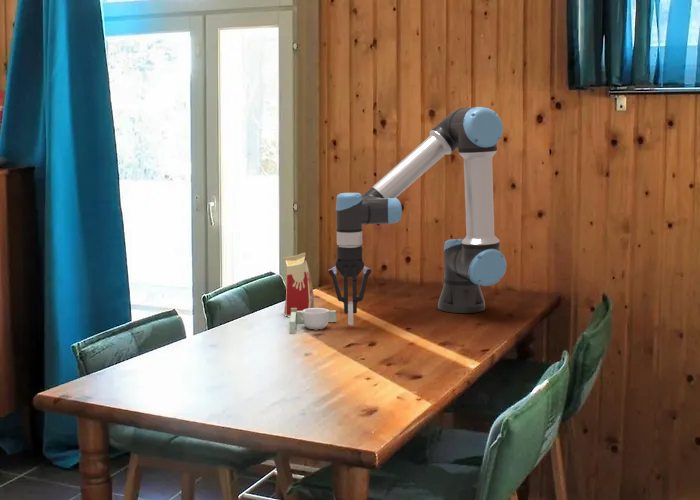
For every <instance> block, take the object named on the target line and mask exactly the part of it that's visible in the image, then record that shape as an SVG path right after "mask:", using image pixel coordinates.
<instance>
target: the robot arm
mask: <svg viewBox="0 0 700 500" xmlns="http://www.w3.org/2000/svg"><path fill="white" fill-rule="evenodd" d="M503 133H504V125H503V121H502V119H501V117H500V116H499V114H498V113H497V112H495V111H494V110H493V109H491V108H488V107H483V106H475V107H460V108H457V109H455V110H453V111H452V112H450V113H449V114H448V115H447V116H446V117H445V118H443V119H442V120H440V122H439V123H437V124H436V125H435V126H434V127H433V128H432V129H431V130H430V131H429V136H428V137H427V138H426V139H425V140H424V141H422V142H421V143H420V144H419V145H418V146H417V147H415V148H414V149H413V150H412V151H411V152H409V154H408V155H406V157H404V158H403V159H402V160H401V161H400V162H399V163H398V164H396V165H395V166H394V167H393V168H392V169H391V170H390V171H388V172H387V173H386V174H385V175H384V176H383V177H382V178H381V179H379V181H377V182H376V183H375V184H374V185H372V187H370V188H369V189H368V190H367V191H366V192H364V193H362V194H361V193H360V192H343V193H342V192H341V193H339V194H337V196H336V201H335V214H336V218H335V219H336V244H337V246H336V262H335V266H333V267H332V268H328V274H329V275H330V277H331V278H332V282H333V287H334V290H335V294H336V298H337V300H338V302H340V303H341V302H342V303H343V312H344V314H345V315H346V314H347V325H348V326H354V314H357V313H358V302H359V303H360V302H362V301H363V300H364V296H365V291H366V288H367V283H368V279H369V277H370V275H371V273H372V268H370V267H367V265H365V263H364V261H363V260H364V259H363V247H362V245H363V225H385V224H386V225H390V224H397V223H399V222H400V221H401V219H402V215H403V208H402V207H403V206H402V203H401V201H400V200H399V199H398V197H399V196H400V195H401V194H402V193H403V192H405V191H406V190H407V189H408V188H409V187H411V185H412V184H414V183H415V182H416V181H417V180H418V179H419V178H420V177H422V176H423V175H424V174H425V173H426V172H427V171H428V170H429V169H431V168H432V167H433V166H434V165H435V164H436V163H437V162H439V160H441V159H442V158H444V156H445V155H451V154H452V153H454V152H455V151H456V150H457V149H458V152H457V153H458V155H460V157H462V158H463V177H464V201H465V202H464V205H465V209H464V210H465V229H466V230H465V232H466V235H465V237H464V238H458V239H447V240H446V241H444V246H443V287H442V290H441V293H440V296H439V299H438V301H437V302H438V304H437V309H438V310H439V311H443V312H448V313H455V314H474V313H480V312H483V311H485V309H486V302H485V299H484V294H483V292H482V288H481V286H484V287H488V286H493V285H495V284H497V283H499V282H500V281H501V279H502V278H503V277H504V276H505V273H506V270H507V259H506V257H505V255H504V254H503V252H502V251H501V242H500V239H499V238H498V237H497V236H496V235H495V214H494V213H495V211H494V210H495V208H494V180H493V179H494V174H493V157H494V156H495V155H496V153H497V152H498V143H499V141H500V139H501V138H502V136H503ZM337 271H338V272H337ZM361 272H362V273H363V276H362V280H361V286H360V289H359V294H357V293H358V292H357V291H358V289H357V287H358V286H357V285H358V284H357V283H358V280H357V279H358V276H359V274H360V273H361ZM337 273H339V274H340V275H341V276H342V277H343V296H342V293H341V289H340V285H339V281H338V278H337ZM349 278H352V281H351V282H352V283H351V284H352V290H351V291H352V301H349Z"/></svg>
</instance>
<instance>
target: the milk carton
mask: <svg viewBox="0 0 700 500" xmlns="http://www.w3.org/2000/svg"><path fill="white" fill-rule="evenodd" d="M306 256H307V255H306V252H302V253H299V254H296V255H292V256H284V257H282V259H284V260H285V264H286V286H285V287H286V288H285V289H286V290H285V291H286V292H285V301H284V302H285V303H284V313H283V315H284V314H285V315H286V316H291V308H297V311H303V310H304V309H308V308H315V296H314V290H313V289H314V288H313V283H312V277H311V274H310V269H309V264H308V262H307V257H306ZM285 315H284V316H285ZM286 316H285V317H286Z"/></svg>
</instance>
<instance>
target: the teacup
mask: <svg viewBox="0 0 700 500" xmlns="http://www.w3.org/2000/svg"><path fill="white" fill-rule="evenodd" d="M302 313H303V318H302V317H301V314H302ZM299 316H300V318H301V319H302V320H303V321H304V323H303V324H304V326H305V327H306V328H307V329H308V330H311V329H314V330H313V331H317V330H318V329H320V330H323V329H325V328H326V326H327V325H328V324H329V323H328V319H329V308H328V309H327V308H322V307H314V308H308V309H304V310H303V312H300V315H299Z"/></svg>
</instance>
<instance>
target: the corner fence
mask: <svg viewBox="0 0 700 500" xmlns="http://www.w3.org/2000/svg"><path fill="white" fill-rule="evenodd" d="M328 310H329V309H328ZM300 312H303V311H297V308H291V316H290V317H289V334H290V333H295V334H296V329H297V324H304V321H303V320H302V319H301V318H300V316H299V315H300ZM336 313H337V310H329V319H328V322H336V323H337V317H336V315H337V314H336ZM301 317H302V318H303V313H302V314H301Z"/></svg>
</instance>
